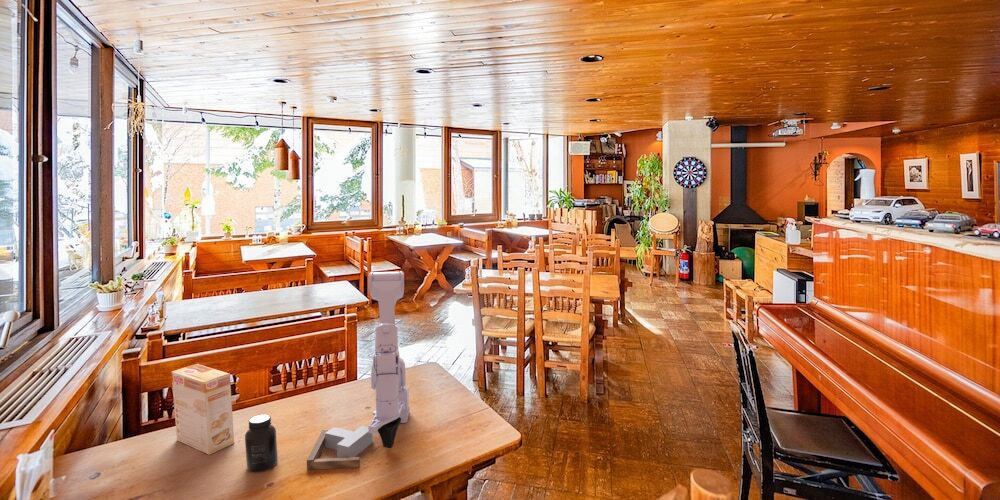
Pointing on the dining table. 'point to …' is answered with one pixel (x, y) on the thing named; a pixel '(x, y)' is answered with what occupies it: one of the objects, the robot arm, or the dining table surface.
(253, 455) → the supplement bottle
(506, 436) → the dining table surface
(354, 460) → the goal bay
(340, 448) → the tee block
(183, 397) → the coffeecake box
